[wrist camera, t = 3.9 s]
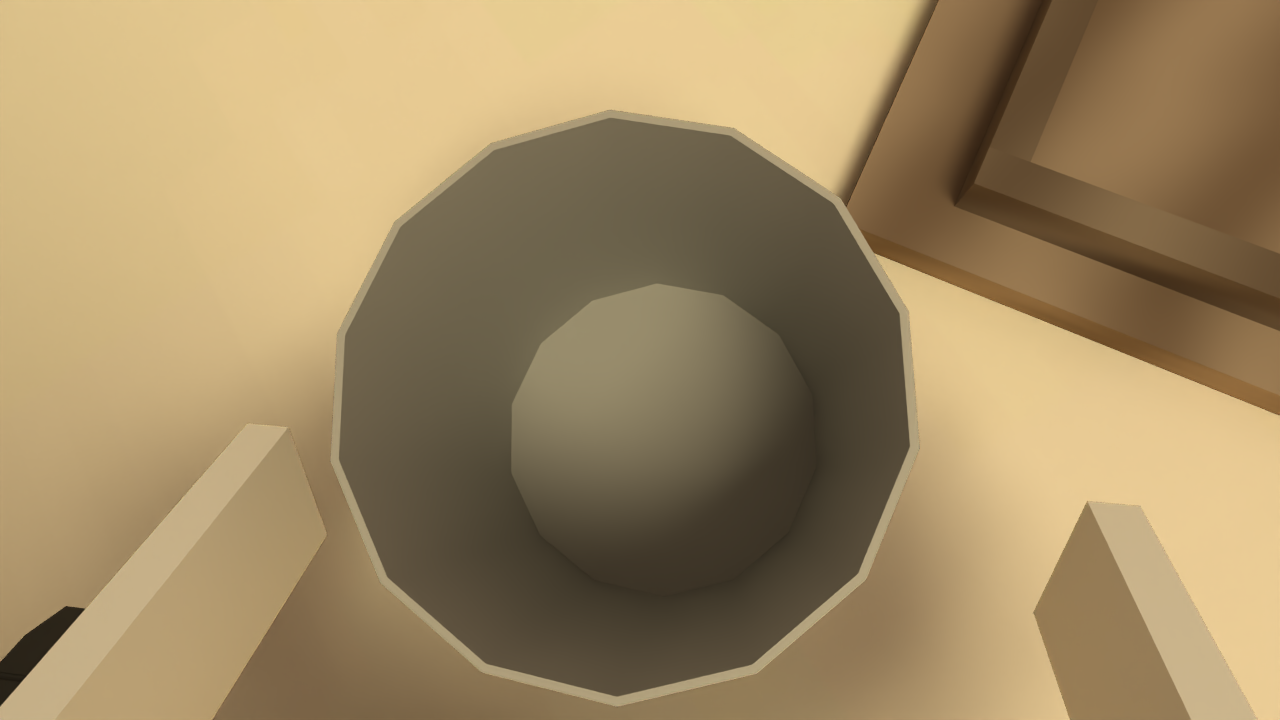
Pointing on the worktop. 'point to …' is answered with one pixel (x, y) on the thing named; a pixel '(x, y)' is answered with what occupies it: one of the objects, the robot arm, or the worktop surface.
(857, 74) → the worktop surface
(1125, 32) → the brown wooden tray
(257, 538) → the robot arm
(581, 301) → the cup
